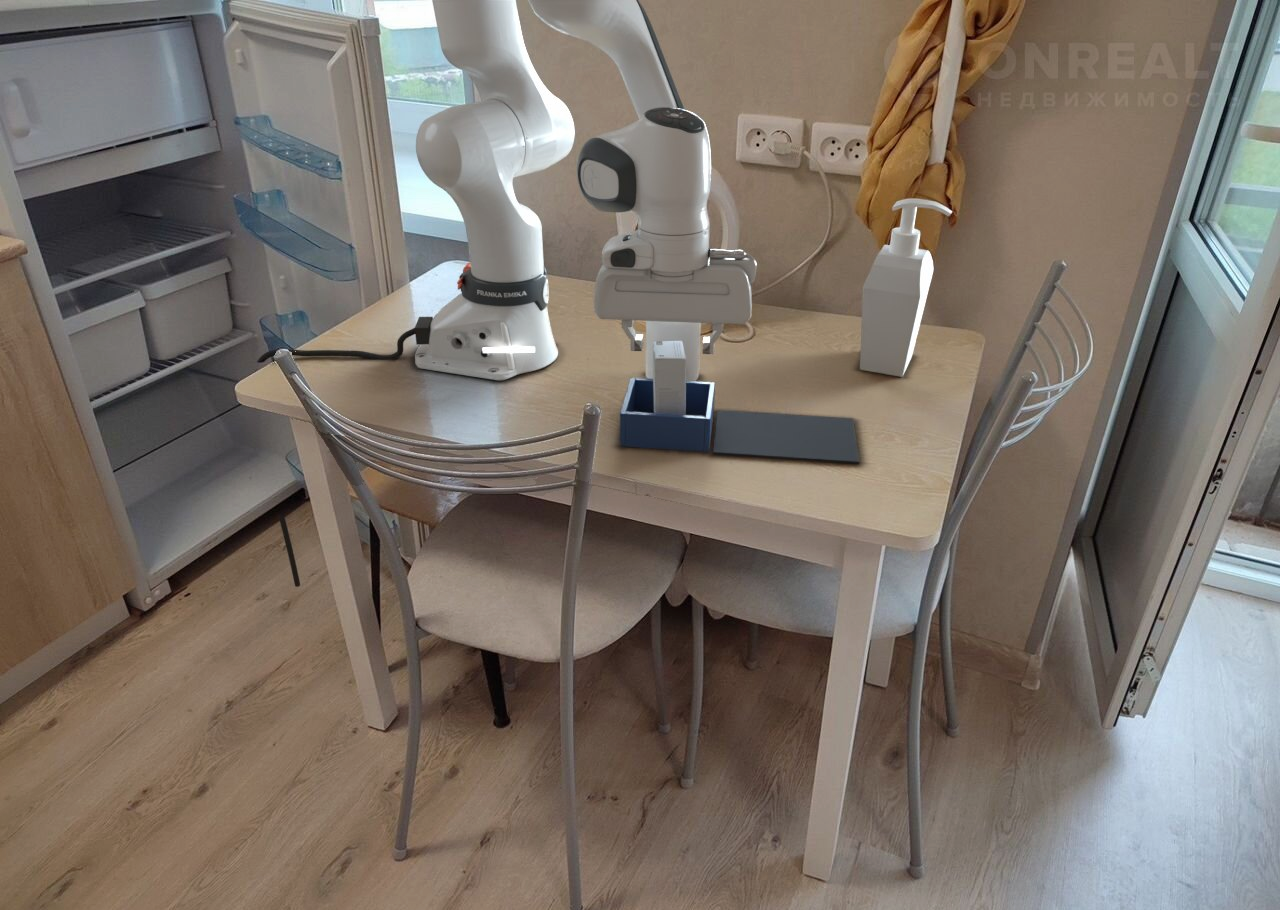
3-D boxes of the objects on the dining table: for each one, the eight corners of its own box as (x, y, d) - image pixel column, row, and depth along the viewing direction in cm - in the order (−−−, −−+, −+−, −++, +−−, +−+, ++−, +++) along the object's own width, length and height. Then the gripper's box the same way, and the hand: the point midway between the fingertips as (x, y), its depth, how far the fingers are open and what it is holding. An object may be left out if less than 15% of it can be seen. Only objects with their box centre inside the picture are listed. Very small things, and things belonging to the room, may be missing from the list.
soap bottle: (917, 385, 142) (946, 216, 129) (851, 373, 145) (873, 207, 132) (930, 354, 152) (958, 194, 138) (868, 343, 155) (890, 186, 142)
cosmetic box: (686, 440, 127) (689, 358, 121) (653, 440, 127) (654, 359, 121) (683, 418, 132) (685, 339, 126) (651, 419, 132) (652, 339, 126)
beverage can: (664, 395, 139) (666, 319, 133) (635, 374, 145) (635, 301, 138) (709, 382, 142) (712, 308, 136) (679, 363, 148) (681, 291, 142)
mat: (712, 454, 124) (712, 452, 124) (717, 412, 134) (717, 409, 134) (859, 464, 122) (859, 461, 122) (852, 420, 132) (852, 418, 132)
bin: (620, 446, 126) (619, 413, 123) (630, 408, 135) (630, 377, 132) (708, 452, 124) (710, 419, 122) (713, 413, 134) (715, 382, 131)
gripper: (758, 243, 118) (752, 344, 125) (597, 238, 120) (600, 338, 127) (757, 258, 113) (751, 364, 120) (589, 253, 115) (593, 357, 122)
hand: (672, 351), depth 123 cm, fingers open, 8 cm apart
